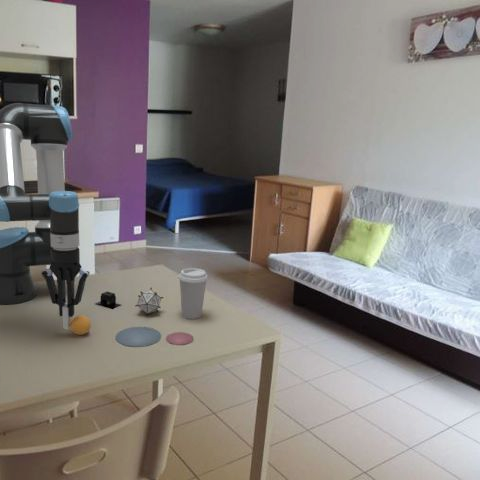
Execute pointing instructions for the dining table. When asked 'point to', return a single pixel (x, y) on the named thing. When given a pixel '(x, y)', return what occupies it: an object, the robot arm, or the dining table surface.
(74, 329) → the ball
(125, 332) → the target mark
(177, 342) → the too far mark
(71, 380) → the dining table surface
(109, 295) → the black boxy piece
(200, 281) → the coffee cup
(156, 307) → the game die
